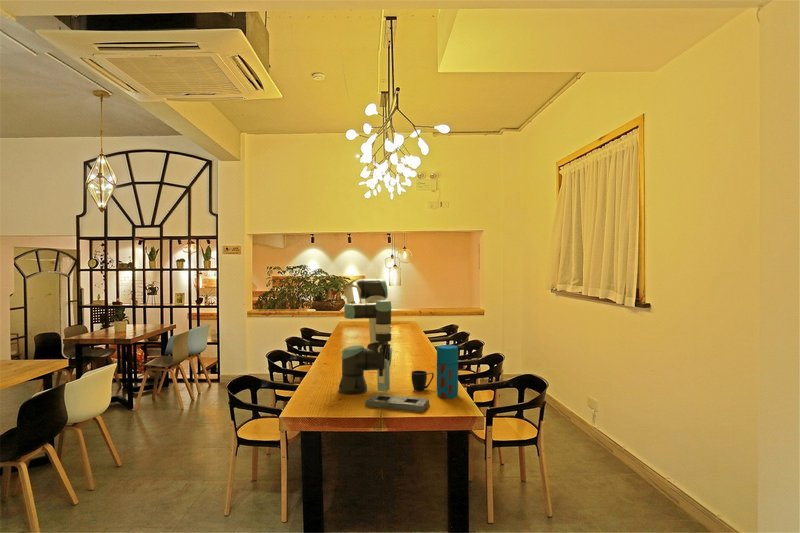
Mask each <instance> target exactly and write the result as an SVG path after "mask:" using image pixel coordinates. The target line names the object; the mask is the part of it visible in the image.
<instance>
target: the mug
mask: <svg viewBox="0 0 800 533" xmlns="http://www.w3.org/2000/svg"><path fill="white" fill-rule="evenodd" d="M434 374H435V373H433V372H427V371H425V370H413V371H411V384H412V388H413V391H415V392H424V391H425V390H426V389H428V387H429V386H430V384H431V383H432V381H433V380H434ZM427 375H431V378H430V381H429V382H428V383H427V381H428V376H427Z"/></svg>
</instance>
